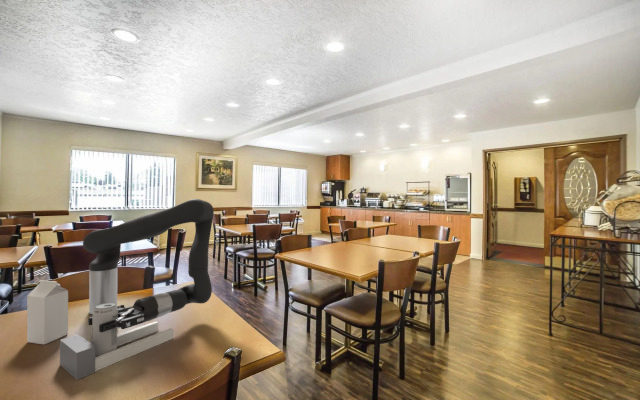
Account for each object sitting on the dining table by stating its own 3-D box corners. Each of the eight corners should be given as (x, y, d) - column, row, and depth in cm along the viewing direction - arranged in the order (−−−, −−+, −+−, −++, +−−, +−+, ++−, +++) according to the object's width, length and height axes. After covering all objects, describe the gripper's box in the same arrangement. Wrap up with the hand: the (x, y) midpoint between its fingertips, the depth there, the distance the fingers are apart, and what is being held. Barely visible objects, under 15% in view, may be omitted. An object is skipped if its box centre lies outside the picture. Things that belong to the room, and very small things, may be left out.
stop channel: (60, 364, 80) (60, 339, 80) (155, 329, 102) (155, 309, 102) (76, 380, 74) (76, 352, 74) (174, 338, 96) (174, 317, 96)
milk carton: (44, 345, 91) (44, 285, 90) (26, 342, 92) (27, 283, 92) (68, 334, 98) (68, 278, 97) (51, 332, 99) (51, 277, 99)
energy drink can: (94, 354, 86) (96, 303, 86) (118, 350, 88) (120, 301, 89) (87, 364, 80) (89, 310, 81) (113, 360, 83) (115, 307, 83)
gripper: (142, 291, 100) (83, 306, 86) (165, 300, 92) (104, 318, 78) (142, 313, 100) (83, 331, 86) (165, 323, 92) (104, 345, 78)
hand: (94, 325), depth 82 cm, fingers open, 7 cm apart
